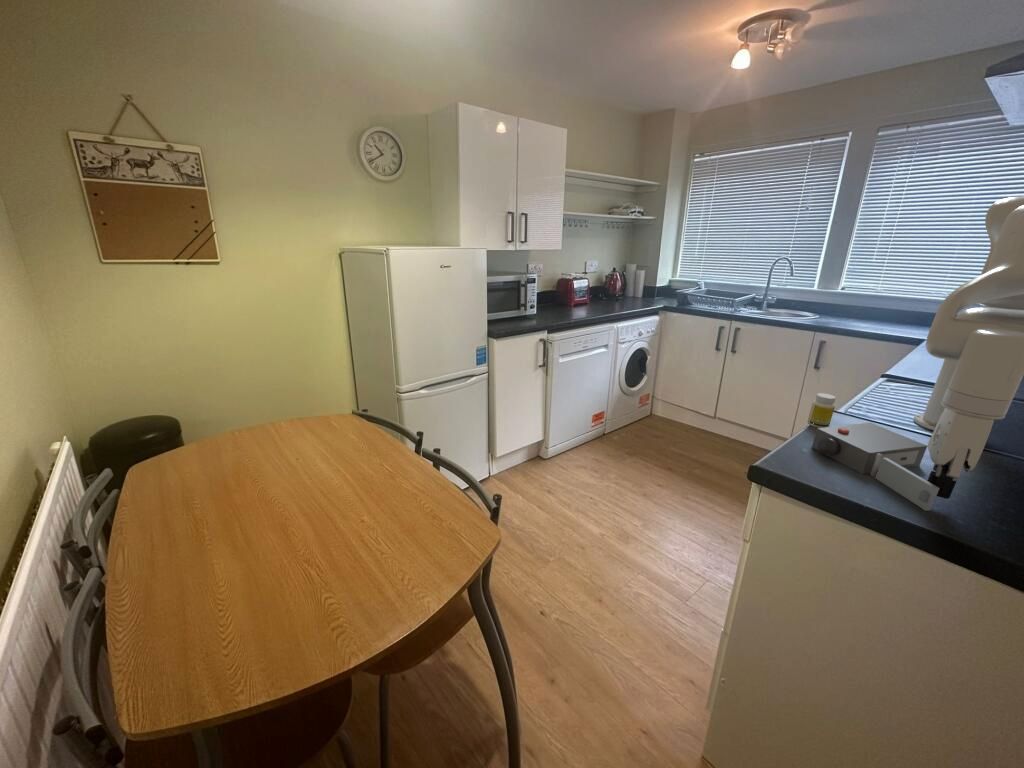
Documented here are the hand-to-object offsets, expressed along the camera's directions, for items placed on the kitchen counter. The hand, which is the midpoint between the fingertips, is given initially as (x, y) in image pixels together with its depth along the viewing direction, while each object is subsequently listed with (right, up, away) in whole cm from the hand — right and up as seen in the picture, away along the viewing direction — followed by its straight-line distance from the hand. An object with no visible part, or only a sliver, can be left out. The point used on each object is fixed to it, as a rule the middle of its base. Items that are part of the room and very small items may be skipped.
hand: (936, 493), depth 77 cm
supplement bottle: (+3, +9, +34) cm, 35 cm away
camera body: (+1, +4, +17) cm, 18 cm away
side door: (-3, -1, +4) cm, 5 cm away
